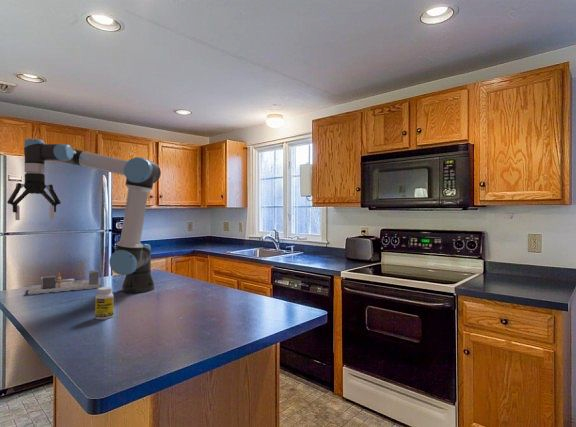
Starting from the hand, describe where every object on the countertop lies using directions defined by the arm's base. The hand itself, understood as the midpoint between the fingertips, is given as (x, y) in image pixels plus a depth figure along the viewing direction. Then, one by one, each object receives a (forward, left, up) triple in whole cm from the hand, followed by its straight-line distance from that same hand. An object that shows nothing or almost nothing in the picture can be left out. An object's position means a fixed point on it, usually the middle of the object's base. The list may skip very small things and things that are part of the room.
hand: (35, 219), depth 162 cm
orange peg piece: (-9, -16, -33) cm, 38 cm away
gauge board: (-12, -12, -36) cm, 39 cm away
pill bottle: (-24, +50, -36) cm, 66 cm away
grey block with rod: (-8, -12, -33) cm, 36 cm away
